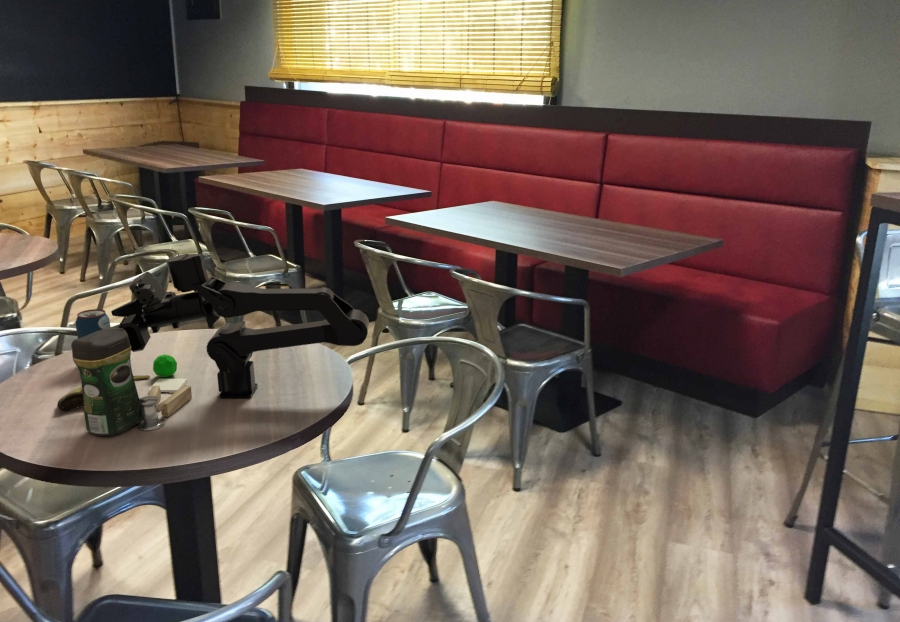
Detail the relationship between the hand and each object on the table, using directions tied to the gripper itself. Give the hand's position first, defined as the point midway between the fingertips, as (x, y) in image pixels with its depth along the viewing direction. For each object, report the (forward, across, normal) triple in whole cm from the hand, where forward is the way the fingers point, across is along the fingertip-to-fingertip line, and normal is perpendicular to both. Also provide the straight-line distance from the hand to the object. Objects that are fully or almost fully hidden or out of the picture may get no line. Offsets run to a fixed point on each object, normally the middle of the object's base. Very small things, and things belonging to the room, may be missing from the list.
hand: (104, 323), depth 147 cm
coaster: (-7, -1, +17) cm, 18 cm away
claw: (+6, +2, +15) cm, 16 cm away
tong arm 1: (-7, +11, +15) cm, 20 cm away
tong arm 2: (-11, +11, +16) cm, 22 cm away
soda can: (+13, -16, +16) cm, 26 cm away
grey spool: (-9, +17, +14) cm, 24 cm away
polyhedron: (-4, -7, +18) cm, 20 cm away
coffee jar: (-3, +18, +13) cm, 22 cm away
